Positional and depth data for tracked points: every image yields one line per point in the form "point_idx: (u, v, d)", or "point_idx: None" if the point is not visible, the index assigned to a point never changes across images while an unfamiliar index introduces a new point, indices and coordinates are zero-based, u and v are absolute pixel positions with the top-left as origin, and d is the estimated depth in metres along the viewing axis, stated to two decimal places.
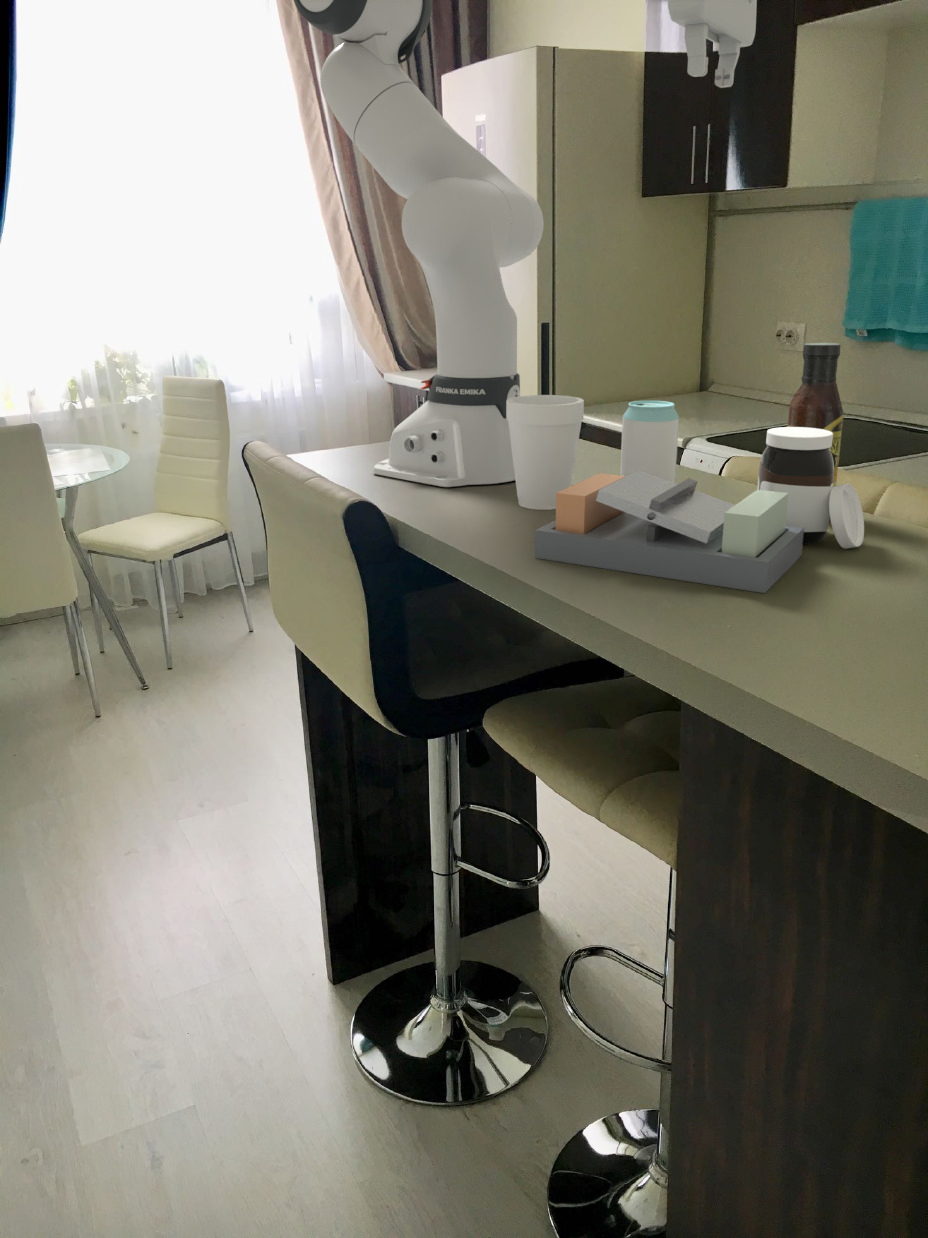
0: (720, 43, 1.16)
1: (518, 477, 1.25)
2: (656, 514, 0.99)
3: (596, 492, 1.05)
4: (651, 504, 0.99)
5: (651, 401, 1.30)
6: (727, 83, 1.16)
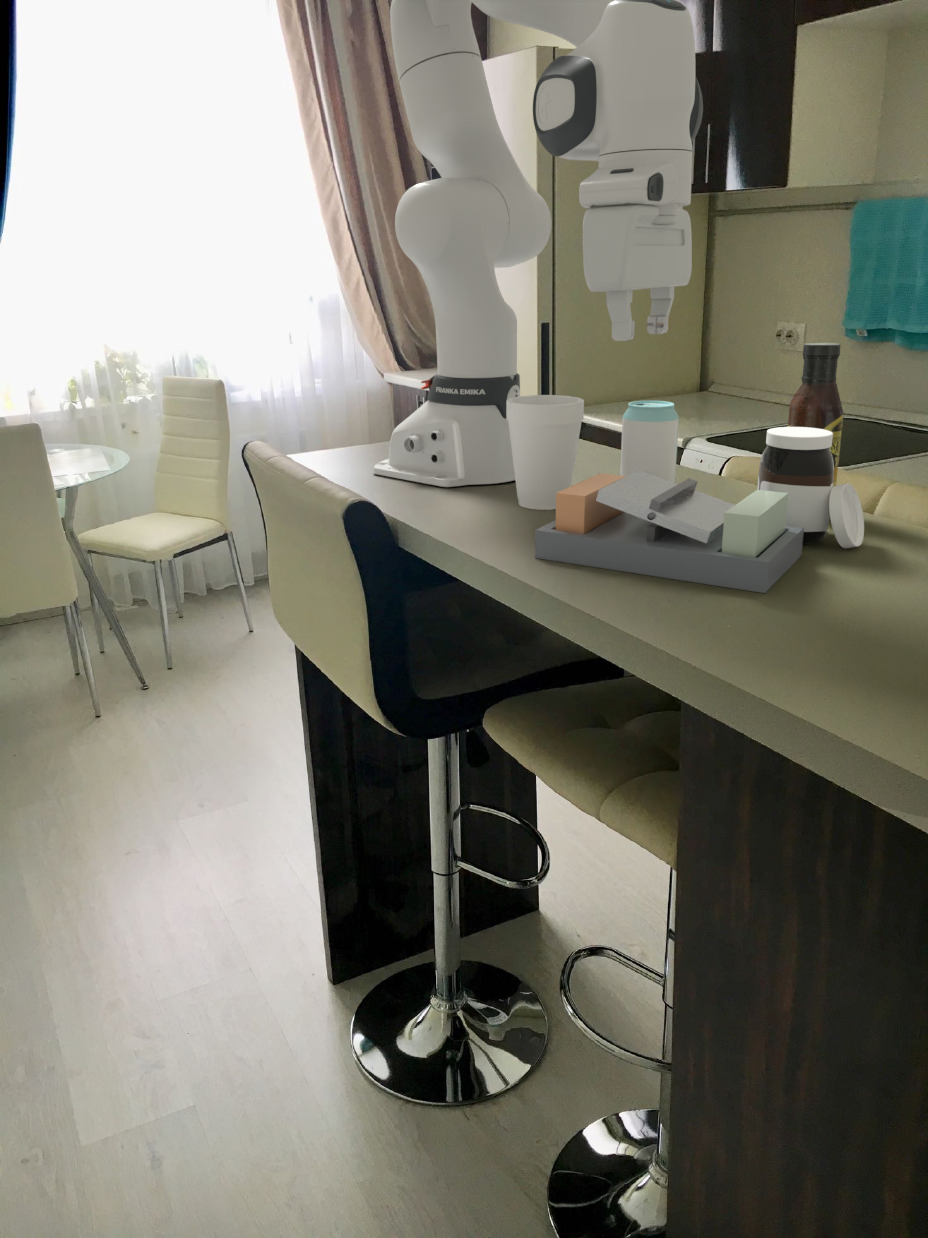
0: (652, 288, 1.05)
1: (518, 477, 1.25)
2: (656, 514, 0.99)
3: (596, 492, 1.05)
4: (651, 504, 0.99)
5: (651, 401, 1.30)
6: (661, 332, 1.04)
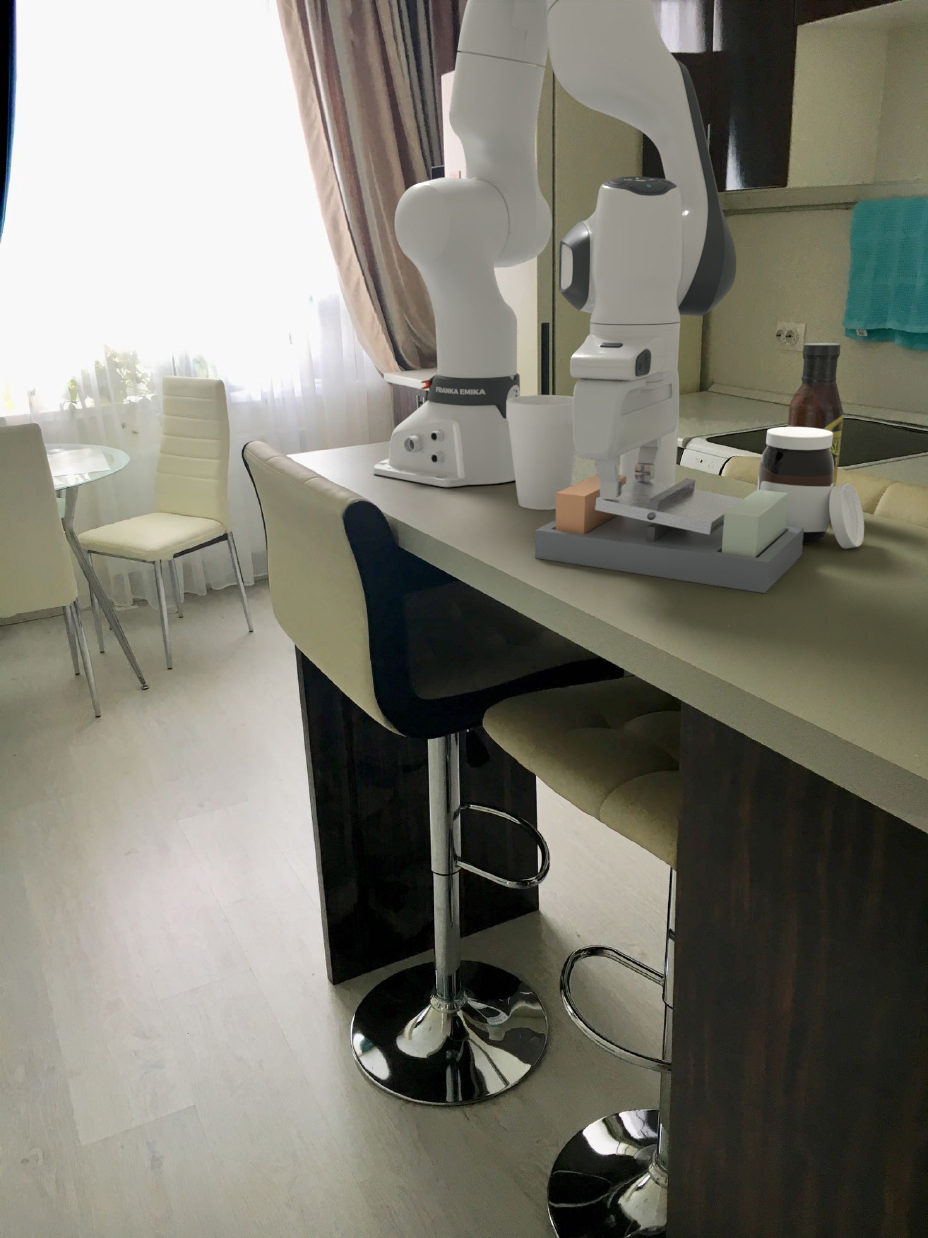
0: None
1: (518, 477, 1.25)
2: (655, 513, 0.99)
3: (596, 492, 1.05)
4: (649, 504, 0.99)
5: None
6: (647, 480, 1.08)
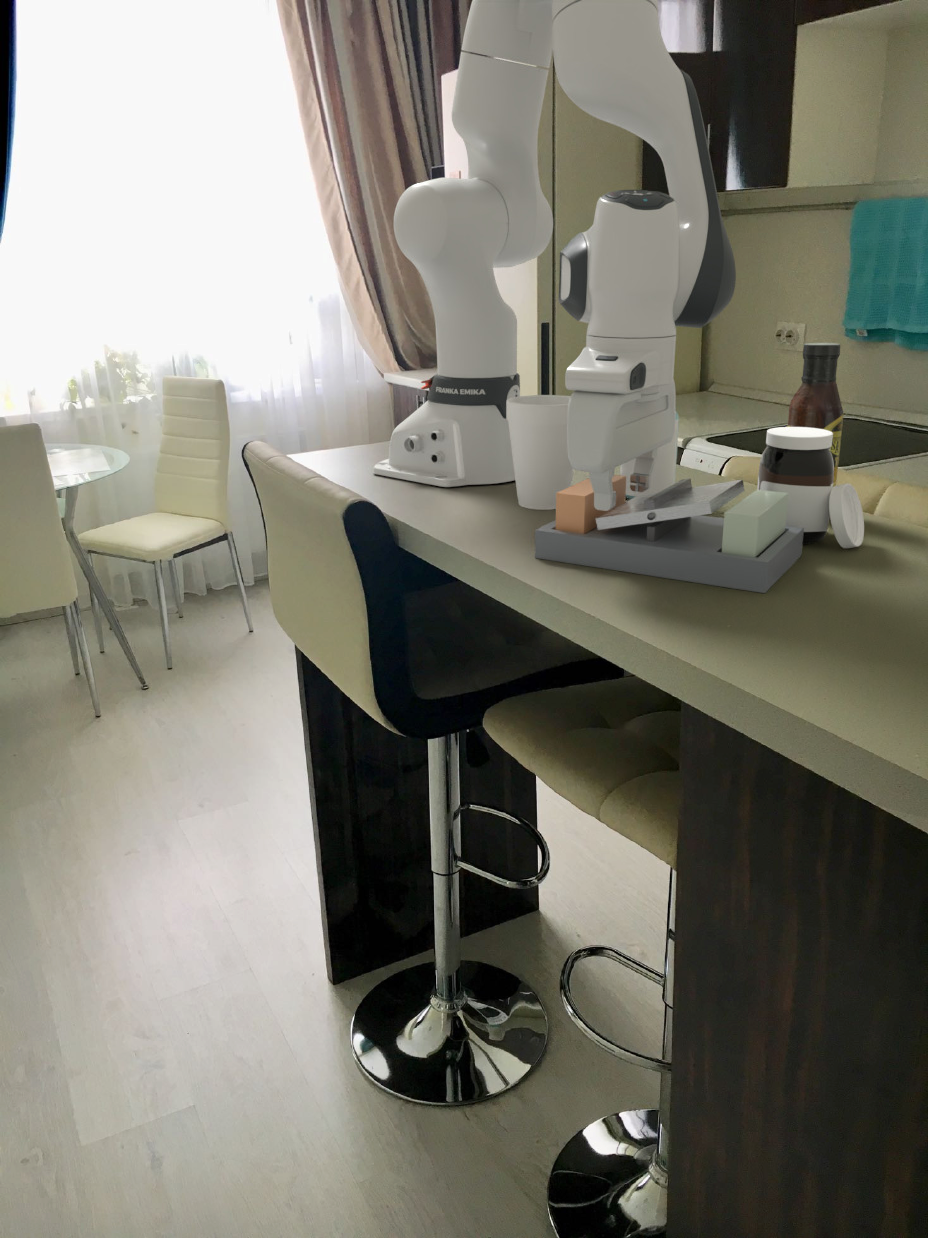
0: None
1: (518, 477, 1.25)
2: (654, 512, 0.99)
3: None
4: (646, 505, 0.99)
5: None
6: (643, 490, 1.09)
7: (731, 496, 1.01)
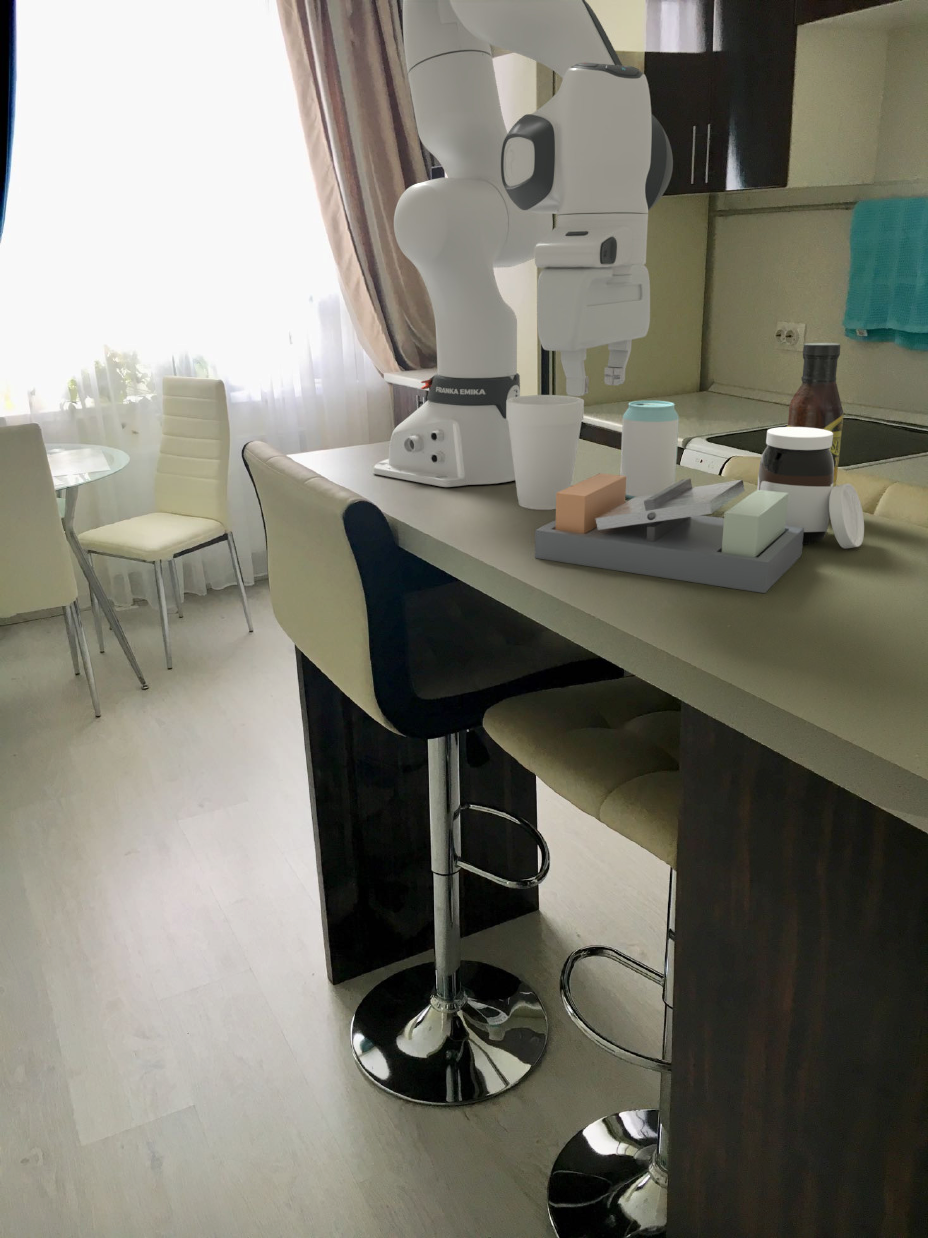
0: None
1: (518, 477, 1.25)
2: (654, 512, 0.99)
3: (596, 492, 1.05)
4: (646, 505, 0.99)
5: (651, 401, 1.30)
6: (617, 383, 1.07)
7: (731, 496, 1.01)
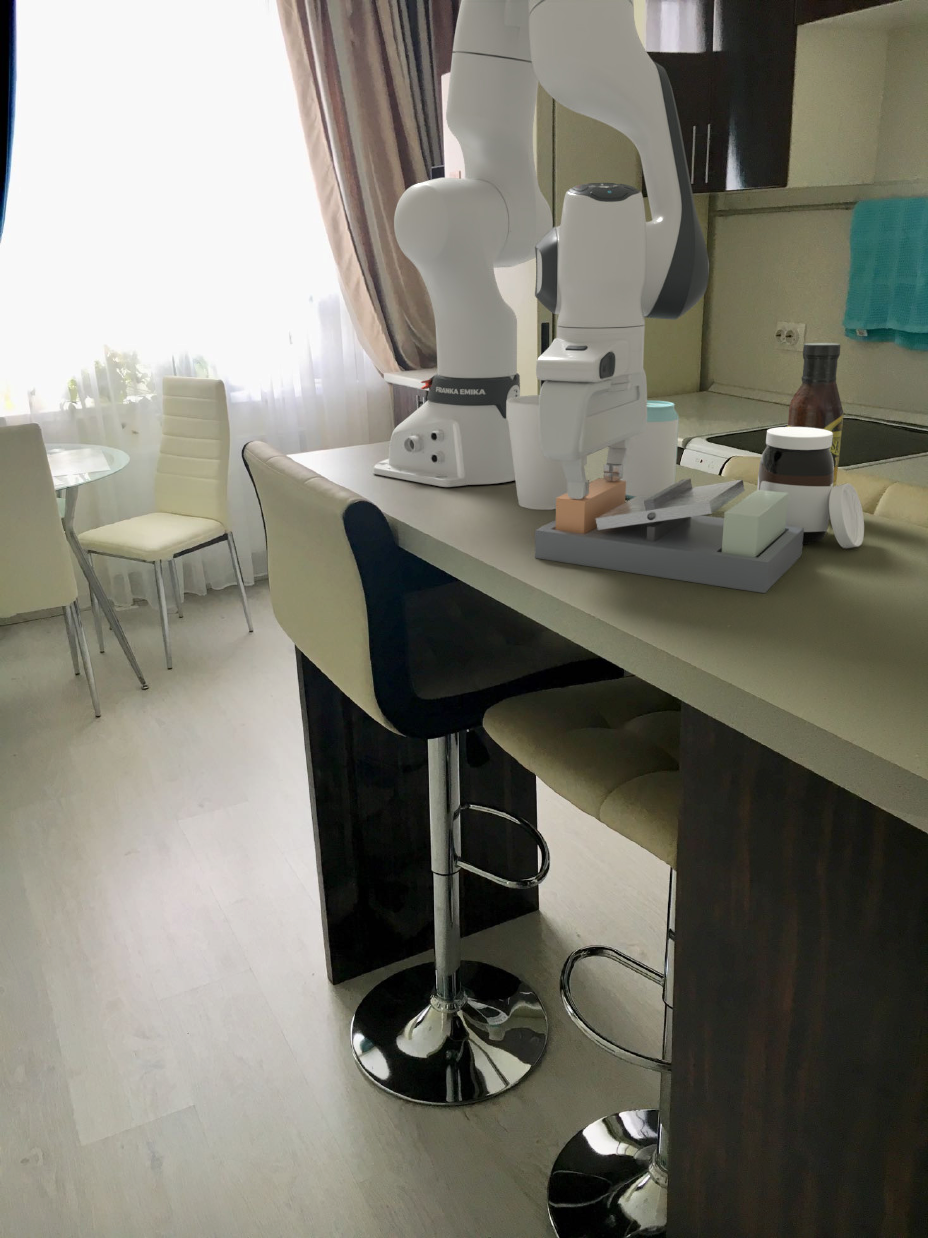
0: None
1: (518, 477, 1.25)
2: (654, 512, 0.99)
3: (596, 497, 1.05)
4: (646, 505, 0.99)
5: (651, 401, 1.30)
6: (616, 480, 1.10)
7: (731, 496, 1.01)
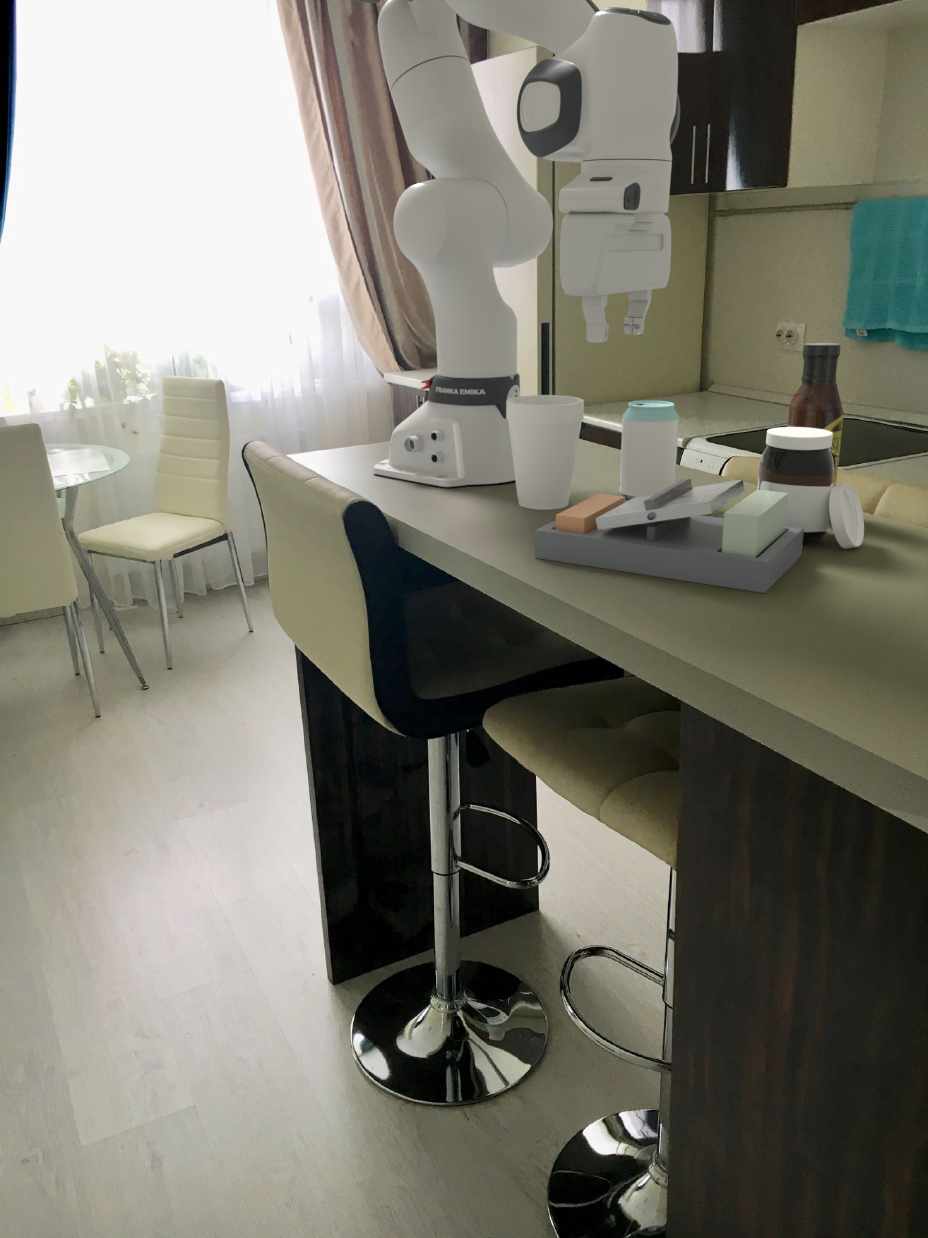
0: None
1: (518, 477, 1.25)
2: (654, 512, 0.99)
3: (595, 514, 1.05)
4: (646, 505, 0.99)
5: (651, 401, 1.30)
6: (636, 333, 1.08)
7: (731, 496, 1.01)
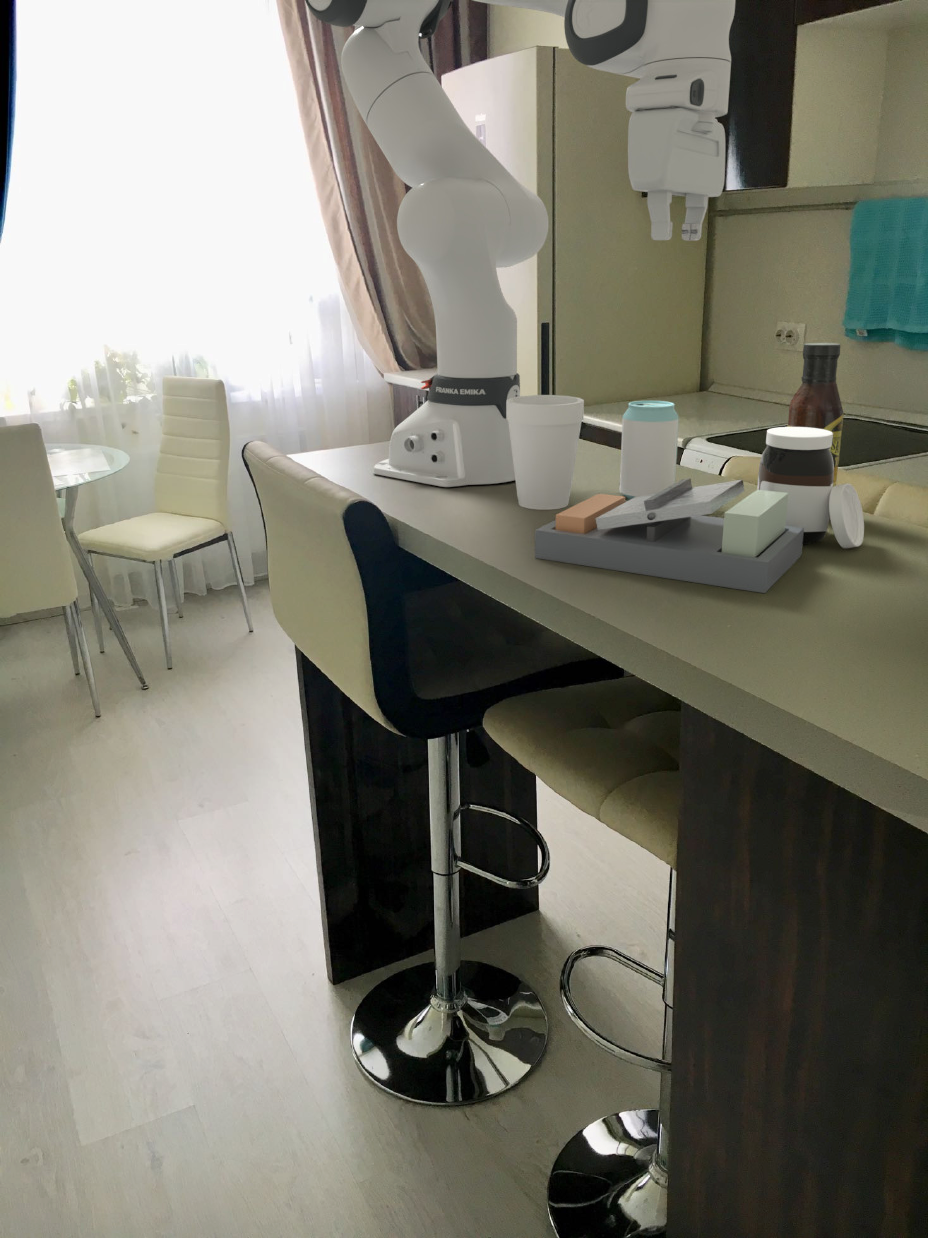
0: (687, 196, 1.12)
1: (518, 477, 1.25)
2: (654, 512, 0.99)
3: (595, 514, 1.05)
4: (646, 505, 0.99)
5: (651, 401, 1.30)
6: (694, 238, 1.12)
7: (731, 496, 1.01)
